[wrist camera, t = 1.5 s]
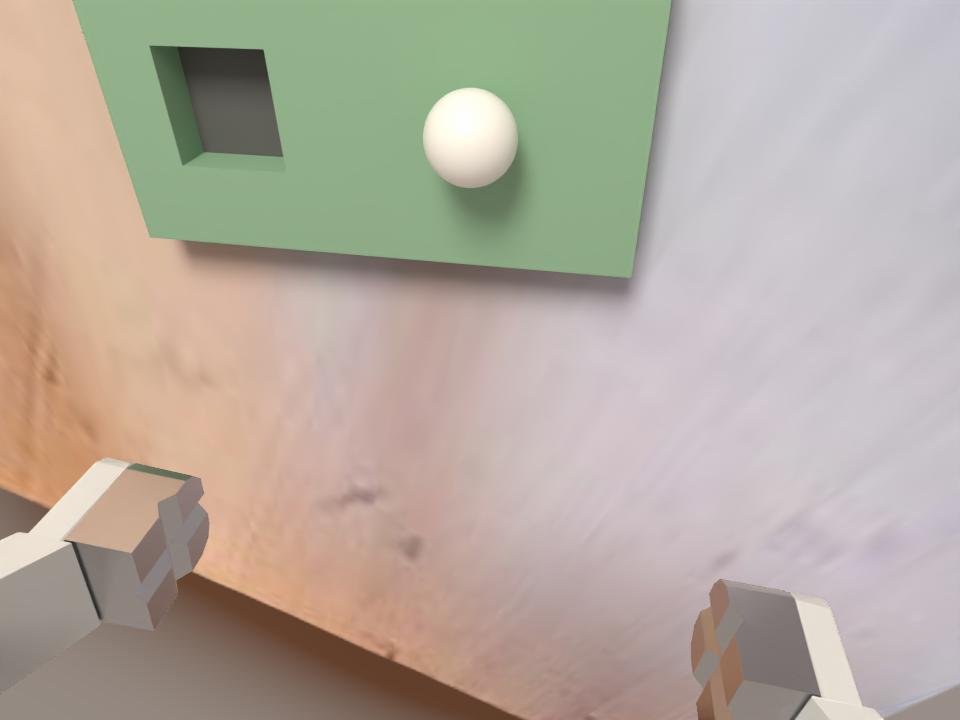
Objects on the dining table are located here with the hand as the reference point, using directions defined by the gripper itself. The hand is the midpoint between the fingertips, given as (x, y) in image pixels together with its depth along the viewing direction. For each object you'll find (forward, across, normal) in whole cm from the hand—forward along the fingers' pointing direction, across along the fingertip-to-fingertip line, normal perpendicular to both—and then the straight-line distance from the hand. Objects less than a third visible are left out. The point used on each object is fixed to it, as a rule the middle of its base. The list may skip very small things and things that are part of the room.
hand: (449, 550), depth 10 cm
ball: (+21, +3, 0) cm, 21 cm away
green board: (+26, +9, 0) cm, 27 cm away
